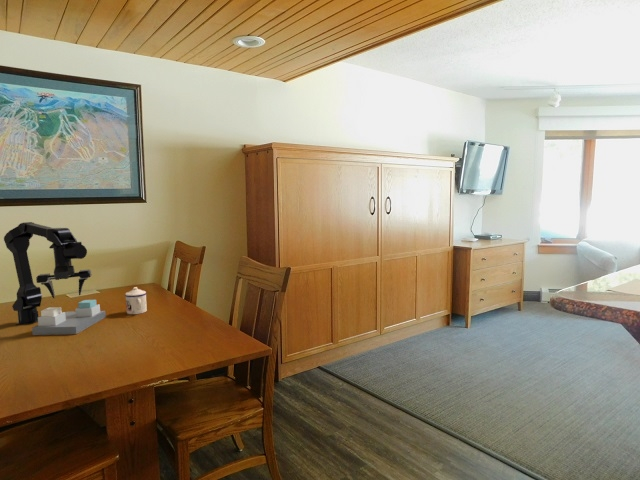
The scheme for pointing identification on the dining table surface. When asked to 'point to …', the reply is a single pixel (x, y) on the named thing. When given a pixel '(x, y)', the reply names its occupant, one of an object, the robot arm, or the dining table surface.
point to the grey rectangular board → (69, 321)
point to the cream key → (51, 312)
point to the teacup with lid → (136, 301)
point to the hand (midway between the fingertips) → (67, 296)
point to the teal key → (87, 304)
